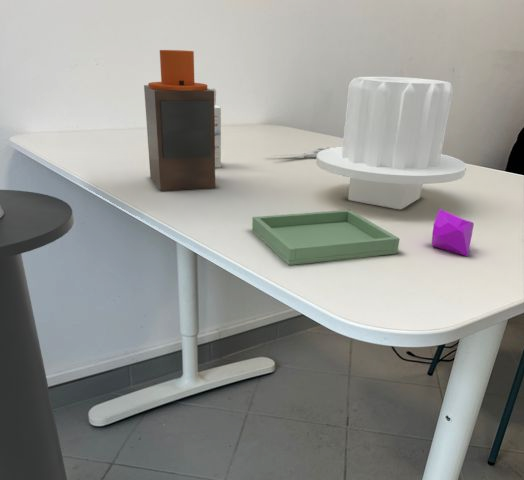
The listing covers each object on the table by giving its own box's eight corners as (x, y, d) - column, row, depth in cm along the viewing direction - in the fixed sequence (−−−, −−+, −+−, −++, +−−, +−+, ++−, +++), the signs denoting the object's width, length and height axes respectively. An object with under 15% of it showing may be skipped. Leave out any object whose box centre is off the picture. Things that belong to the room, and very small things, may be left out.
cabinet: (161, 191, 94) (154, 90, 86) (150, 178, 103) (143, 85, 94) (215, 188, 97) (214, 91, 89) (201, 175, 106) (199, 85, 98)
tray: (288, 265, 66) (289, 249, 65) (252, 231, 77) (252, 216, 76) (397, 253, 71) (399, 238, 70) (348, 223, 82) (349, 209, 81)
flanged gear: (431, 230, 80) (459, 90, 71) (287, 201, 92) (294, 77, 82) (473, 196, 99) (500, 82, 89) (349, 176, 110) (360, 72, 100)
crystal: (427, 251, 72) (434, 217, 70) (432, 239, 77) (439, 207, 74) (467, 257, 71) (476, 223, 68) (470, 245, 75) (478, 212, 73)
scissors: (355, 154, 126) (284, 160, 116) (355, 158, 126) (284, 164, 117) (328, 147, 133) (259, 151, 124) (328, 150, 134) (259, 155, 125)
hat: (154, 90, 86) (152, 50, 84) (143, 85, 94) (141, 48, 92) (214, 90, 90) (213, 52, 87) (199, 85, 98) (198, 50, 95)
